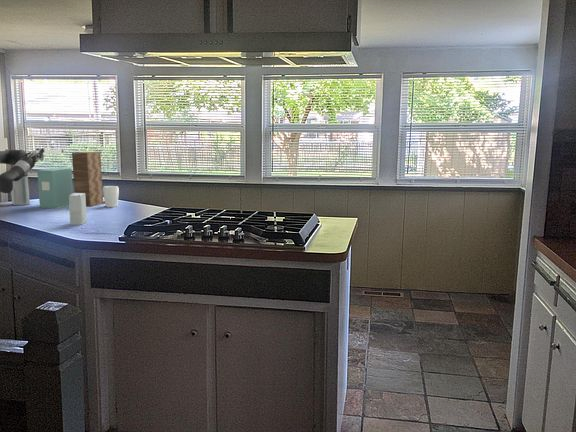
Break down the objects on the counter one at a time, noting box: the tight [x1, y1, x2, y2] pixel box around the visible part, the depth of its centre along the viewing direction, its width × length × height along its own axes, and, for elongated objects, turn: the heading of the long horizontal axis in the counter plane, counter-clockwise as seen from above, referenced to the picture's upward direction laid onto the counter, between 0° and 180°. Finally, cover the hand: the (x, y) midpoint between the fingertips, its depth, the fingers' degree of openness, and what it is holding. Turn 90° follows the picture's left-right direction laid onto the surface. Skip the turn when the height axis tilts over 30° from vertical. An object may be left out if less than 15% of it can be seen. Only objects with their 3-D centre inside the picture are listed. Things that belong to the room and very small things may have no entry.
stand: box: [71, 151, 106, 208], centre depth 319 cm, size 16×12×32 cm
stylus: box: [32, 148, 64, 155], centre depth 306 cm, size 24×2×2 cm, turn 167°
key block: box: [36, 167, 74, 209], centre depth 314 cm, size 18×10×22 cm, turn 167°
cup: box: [102, 185, 120, 208], centre depth 314 cm, size 9×9×12 cm
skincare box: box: [68, 192, 87, 226], centre depth 257 cm, size 8×6×15 cm
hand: (41, 149), depth 300 cm, fingers closed on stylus, 2 cm apart
